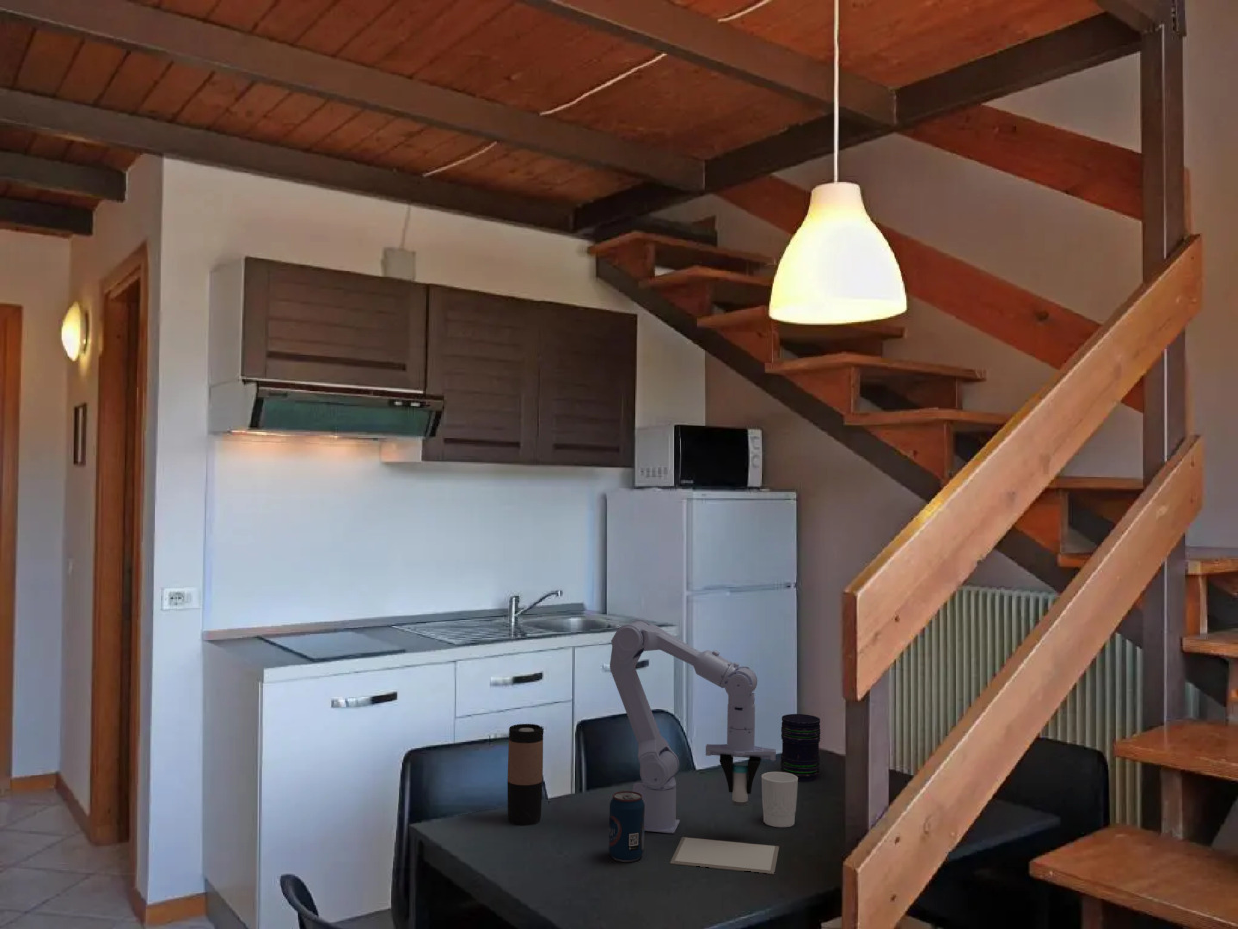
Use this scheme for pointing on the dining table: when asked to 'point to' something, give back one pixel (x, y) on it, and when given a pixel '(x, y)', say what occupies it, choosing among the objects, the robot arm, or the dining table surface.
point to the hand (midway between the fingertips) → (740, 792)
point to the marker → (740, 784)
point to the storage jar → (801, 746)
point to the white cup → (779, 798)
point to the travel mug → (525, 774)
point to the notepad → (726, 855)
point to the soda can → (626, 826)
